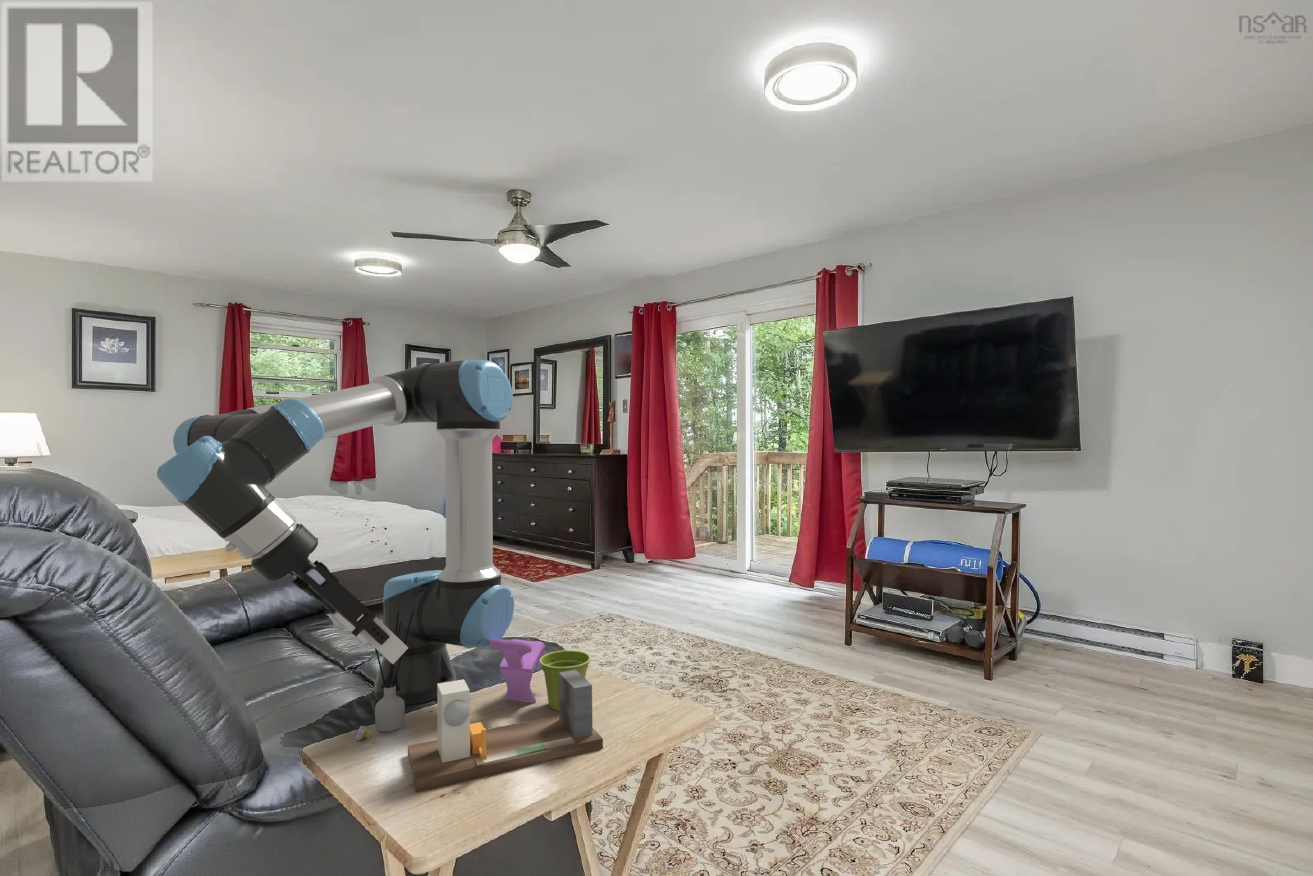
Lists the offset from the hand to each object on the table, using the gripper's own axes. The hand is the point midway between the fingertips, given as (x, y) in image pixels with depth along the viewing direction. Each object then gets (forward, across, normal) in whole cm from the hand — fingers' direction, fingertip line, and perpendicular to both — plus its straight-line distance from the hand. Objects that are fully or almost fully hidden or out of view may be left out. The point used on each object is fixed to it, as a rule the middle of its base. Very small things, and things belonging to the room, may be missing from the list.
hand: (385, 645), depth 91 cm
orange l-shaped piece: (+22, +2, -2) cm, 22 cm away
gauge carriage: (+20, -1, -4) cm, 21 cm away
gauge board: (+27, +1, +1) cm, 27 cm away
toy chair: (+33, -18, +14) cm, 40 cm away
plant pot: (+37, -9, +14) cm, 40 cm away
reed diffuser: (+18, -18, -8) cm, 27 cm away
